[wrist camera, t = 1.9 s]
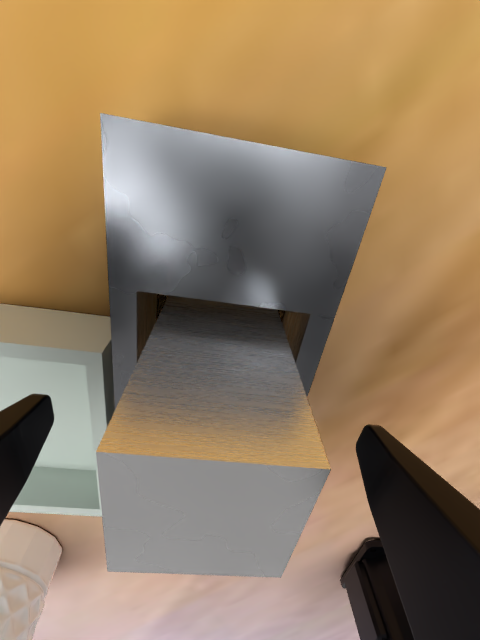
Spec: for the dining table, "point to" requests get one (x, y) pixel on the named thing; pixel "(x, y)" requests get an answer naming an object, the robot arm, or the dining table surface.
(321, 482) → the brushed aluminium bar
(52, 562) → the white cup
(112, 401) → the parts tray
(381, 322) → the dining table surface
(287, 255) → the rail
